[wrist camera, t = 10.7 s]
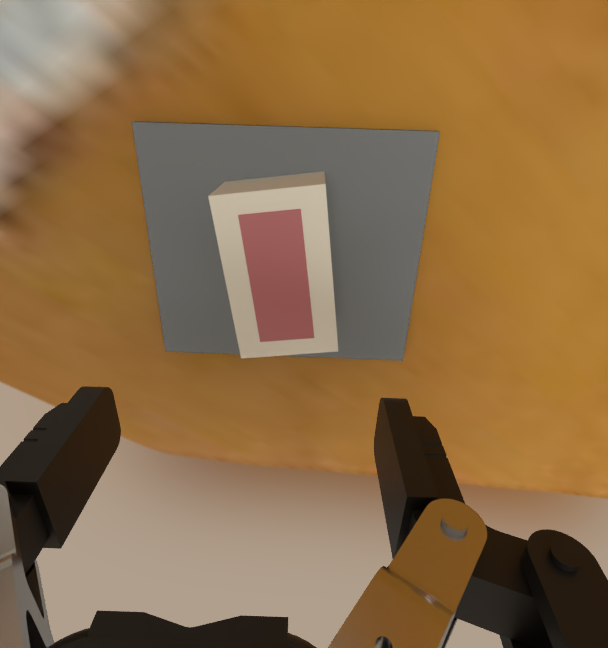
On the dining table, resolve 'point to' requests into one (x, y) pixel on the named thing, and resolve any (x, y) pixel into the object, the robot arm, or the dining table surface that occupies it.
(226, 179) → the mat
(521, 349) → the dining table surface
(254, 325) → the card box
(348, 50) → the dining table surface
